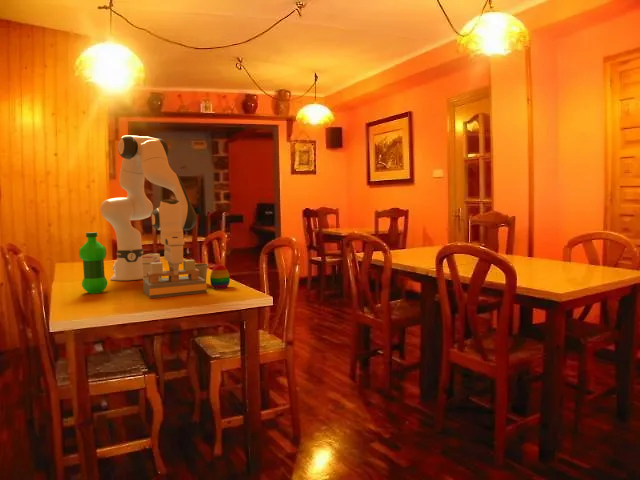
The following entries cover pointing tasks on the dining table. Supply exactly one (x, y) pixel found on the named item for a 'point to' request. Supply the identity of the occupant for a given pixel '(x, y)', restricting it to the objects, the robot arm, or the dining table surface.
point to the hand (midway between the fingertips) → (173, 273)
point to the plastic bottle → (93, 264)
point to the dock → (174, 287)
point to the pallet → (191, 274)
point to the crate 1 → (156, 267)
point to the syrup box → (146, 263)
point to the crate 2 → (189, 265)
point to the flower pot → (202, 270)
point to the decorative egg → (219, 277)
